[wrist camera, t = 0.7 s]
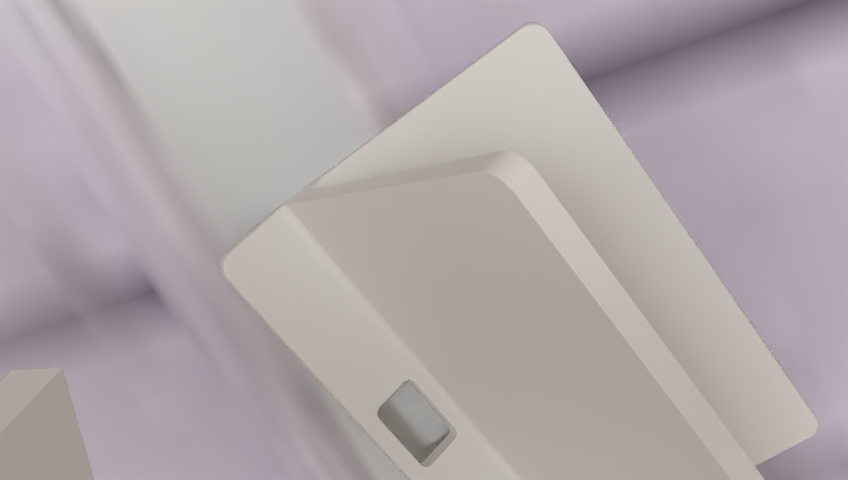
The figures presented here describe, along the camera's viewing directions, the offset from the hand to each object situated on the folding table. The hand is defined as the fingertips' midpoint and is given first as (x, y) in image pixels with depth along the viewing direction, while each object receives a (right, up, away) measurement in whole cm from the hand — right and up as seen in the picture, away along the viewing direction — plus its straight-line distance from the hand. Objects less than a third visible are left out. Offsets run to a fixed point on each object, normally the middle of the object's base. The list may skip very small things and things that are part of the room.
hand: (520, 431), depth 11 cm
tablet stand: (+4, -2, +29) cm, 29 cm away
